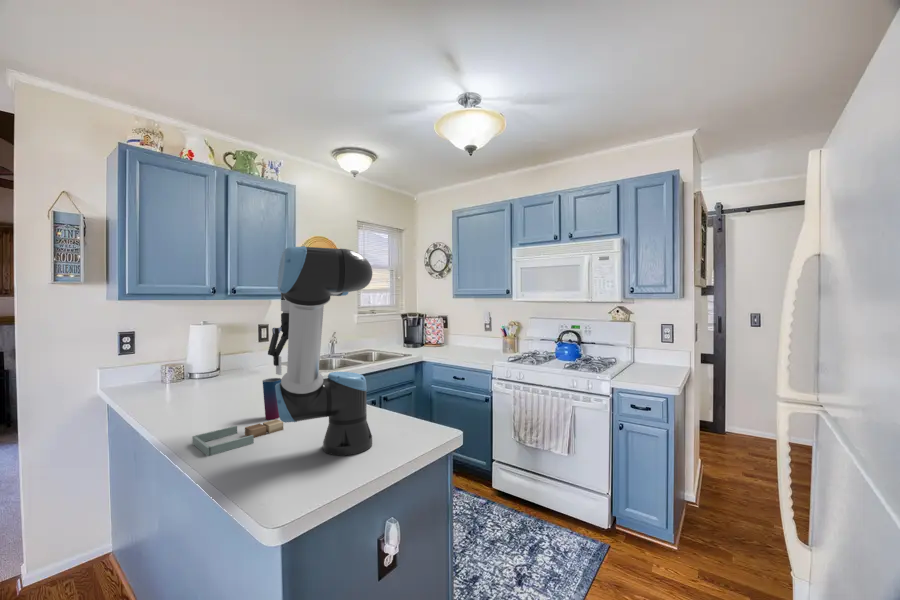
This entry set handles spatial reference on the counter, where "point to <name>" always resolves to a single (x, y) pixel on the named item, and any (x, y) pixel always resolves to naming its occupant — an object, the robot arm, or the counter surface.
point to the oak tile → (273, 426)
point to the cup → (270, 398)
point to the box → (210, 450)
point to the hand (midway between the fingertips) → (292, 372)
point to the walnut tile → (255, 430)
